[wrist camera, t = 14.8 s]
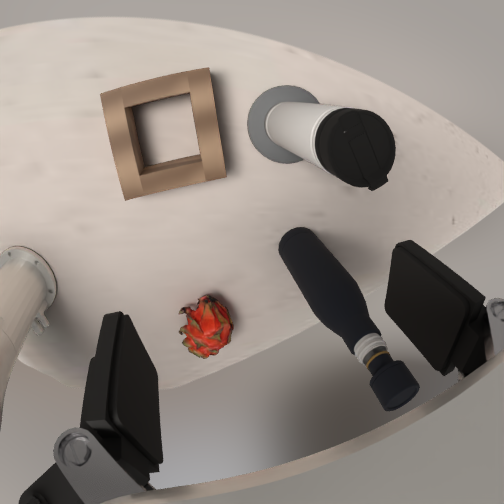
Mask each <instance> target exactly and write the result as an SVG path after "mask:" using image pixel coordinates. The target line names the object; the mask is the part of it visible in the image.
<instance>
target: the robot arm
mask: <svg viewBox="0 0 504 504" xmlns="http://www.w3.org/2000/svg"><path fill="white" fill-rule="evenodd" d="M55 296H56V281H55V278H54V275H53V273H52V271H51V269H50V268H49V266H48V264H47V263H46V262H45V261H44V260H43V259H42V258H41V257H40V256H39V255H38V254H37V253H35V252H33V251H32V250H30V249H27V248H25V247H20V246H17V247H11V248H8V249H6V250H5V251H4V252H3V253H2V254H1V255H0V429H1V422H2V412H3V402H4V396H5V391H6V388H7V384H8V381H9V378H10V375H11V372H12V369H13V367H14V364H15V362H16V359H17V357H18V355H19V352H20V350H21V348H22V345H23V343H24V341H25V339H26V336H27V334H28V332H29V330H30V328H32V329H33V331H34V332H35V334H36V335H40V334H42V333H43V331H44V329H43V327H44V328H46V327H48V326H49V324H50V323H49V322H48V320H47V318H46V317H45V315H44V310H46V309H47V308H49V307H50V306H51V304H52V303H53V301H54V299H55ZM484 300H485V296H483V295H482V294H481V293H480V292H479V291H478V290H476V289H475V288H474V287H473V286H471V285H470V284H469V283H468V282H467V281H465V280H464V279H463V278H462V277H460V276H459V275H458V274H456V273H455V272H454V271H453V270H451V269H450V268H449V267H447V266H446V265H444V264H443V263H442V262H441V261H440V260H438V259H437V258H436V257H434V256H433V255H432V254H430V253H429V252H427V251H426V250H425V249H423V248H422V247H421V246H419V245H418V244H416V243H415V242H414V241H412V240H407V241H404V242H400V243H398V244H396V246H395V248H394V249H393V252H392V259H391V267H390V274H389V281H388V288H387V294H386V299H385V311H386V313H387V314H388V315H389V317H390V318H391V319H392V320H393V321H394V322H395V323H396V325H398V327H399V328H400V329H401V330H402V331H403V332H404V334H405V335H406V336H407V337H408V338H409V339H410V341H411V342H412V343H413V344H414V345H415V346H416V348H417V349H418V350H419V351H420V352H421V353H422V355H423V356H424V357H425V358H426V359H427V361H428V362H429V363H430V364H431V365H432V367H433V368H434V369H435V370H437V371H440V372H441V374H442V375H443V376H445V375H447V374H448V373H450V372H451V371H453V370H454V368H455V366H456V367H457V368H458V383H456V384H454V385H453V386H451V387H450V388H448V389H447V390H445V391H444V392H442V393H441V394H439V395H437V396H436V397H434V398H432V399H431V400H429V401H427V402H426V403H424V404H422V405H420V406H419V407H417V408H415V409H413V410H412V411H410V412H408V413H406V414H404V415H403V416H401V417H399V418H397V419H395V420H393V421H391V422H389V423H387V424H385V425H383V426H381V427H379V428H376V429H374V430H372V431H370V432H368V433H366V434H363V435H361V436H359V437H357V438H354V439H352V440H350V441H347V442H345V443H342V444H340V445H337V446H335V447H332V448H329V449H327V450H324V451H322V452H319V453H316V454H313V455H311V456H307V457H304V458H301V459H298V460H295V461H292V462H289V463H286V464H283V465H279V466H275V467H272V468H268V469H264V470H260V471H256V472H253V473H249V474H244V475H239V476H235V477H230V478H226V479H221V480H216V481H210V482H205V483H199V484H192V485H186V486H178V487H172V488H167V489H166V488H165V489H158V490H156V489H155V488H154V487H153V486H152V485H151V484H150V483H149V480H150V475H149V473H154V472H159V464H161V463H163V452H162V441H161V428H160V413H159V393H158V375H157V371H156V369H155V367H154V365H153V363H152V361H151V359H150V357H149V355H148V353H147V351H146V349H145V347H144V345H143V343H142V341H141V339H140V337H139V335H138V333H137V331H136V329H135V327H134V325H133V323H132V321H131V318H130V317H129V315H124V314H123V313H122V312H121V311H119V312H114V313H110V314H105V315H104V317H103V321H102V326H101V330H100V335H99V340H98V344H97V349H96V354H95V357H93V358H92V359H91V361H90V365H89V370H88V376H87V381H86V387H85V393H84V400H83V407H82V414H81V423H80V428H72V429H69V430H67V431H65V432H63V433H62V434H61V435H60V436H59V437H58V439H57V441H56V443H55V445H54V450H53V452H54V459H55V461H56V463H55V464H53V466H51V467H50V468H49V469H48V470H47V471H46V472H45V473H44V474H43V475H42V476H41V477H40V478H38V479H37V481H35V482H34V483H33V484H32V485H31V486H30V487H29V488H28V489H27V490H26V491H24V493H23V494H22V495H21V497H20V500H19V504H504V299H501V298H494V299H491V300H490V301H489V302H488V303H487V305H486V307H485V306H484V305H483V303H484ZM36 318H39V319H40V322H41V323H42V325H43V327H42V326H41V324H40V323H39V321H38V320H37V319H36Z"/></svg>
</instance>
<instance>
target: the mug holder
mask: <svg viewBox="0 0 504 504" xmlns="http://www.w3.org/2000/svg"><path fill="white" fill-rule="evenodd" d="M189 93H190V98H191V104H192V110H193V116H194V122H195V128H196V133H197V139H198V145H199V150H200V154H199V155H194V156H190V157H185V158H181V159H176V160H172V161H167V162H163V163H159V164H155V165H151V166H147V167H144V162H143V158H142V154H141V149H140V145H139V140H138V135H137V131H136V126H135V121H134V116H133V111H132V107H134V106H137V105H141V104H145V103H149V102H153V101H157V100H161V99H165V98H170V97H174V96H179V95H184V94H189ZM100 96H101V101H102V107H103V112H104V117H105V122H106V127H107V131H108V136H109V140H110V145H111V149H112V153H113V157H114V161H115V165H116V169H117V173H118V177H119V181H120V184H121V188H122V192H123V195H124V199H125V201H126V200H129V199H133V198H137V197H141V196H145V195H149V194H153V193H157V192H161V191H165V190H170V189H174V188H178V187H183V186H187V185H192V184H196V183H201V182H206V181H210V180H215V179H220V178H225V177H227V176H226V170H225V164H224V158H223V152H222V146H221V140H220V133H219V127H218V121H217V115H216V108H215V102H214V96H213V89H212V83H211V76H210V70H209V67H208V68H202V69H196V70H191V71H186V72H181V73H176V74H171V75H167V76H162V77H158V78H154V79H150V80H146V81H142V82H138V83H134V84H131V85H127V86H124V87H120V88H117V89H114V90H111V91H108V92H104V93H101V94H100Z"/></svg>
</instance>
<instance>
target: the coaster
mask: <svg viewBox="0 0 504 504" xmlns="http://www.w3.org/2000/svg"><path fill="white" fill-rule="evenodd" d="M280 102H302V103H315V104H320V103H319V102H318V100H317V99H316V98H315V97H314V96H313V95H312V94H311V93H309V92H308V91H306V90H304V89H302V88H300V87H296V86H289V85H286V86H277V87H274V88H271V89H269V90H267V91H265V92H264V93H262V94H261V95H260V96H259V97H258V98H257V99H256V100H255V102H254V103H253V105H252V107H251V109H250V112H249V115H248V122H247V126H248V133H249V137H250V139H251V141H252V143H253V145H254V146H255V148H256V149H257V150H258V151H259V152H260V153H261V154H262V155H263V156H265V157H267V158H268V159H270V160H272V161H275V162H279V163H295V162H299V161H302V160H304V159H303V158H301V157H299V156H297V155H296V154H294V153H292V152H290V151H288V150H286V149H284V148H283V147H281V146H279V145H277V144H275V143H274V142H272V141H271V140H270V139H269V138H268V136H267V135H266V132H265V129H264V119H265V116H266V113H267V112H268V110H269V109H270V108H271V107H272V106H274V105H275V104H277V103H280Z"/></svg>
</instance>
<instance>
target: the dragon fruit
mask: <svg viewBox="0 0 504 504" xmlns="http://www.w3.org/2000/svg"><path fill="white" fill-rule="evenodd" d="M209 299H210V300H211V302H210V300H209ZM198 300H199V301H198V303H197V305H198V304H199V307H198V308H197V310H196V311H194V310H192V309H191V308H190V307H183V308H181V310H180V311H179V314H183V313H186V314H187V315H186V317H187V320H188V325H185V326H183V327H181V328H180V331H179V333H180V334H181V335H182V332H183V333H184V334H186V336H187V337H186V338H185V339H184V340H183V342H182V343H183V345H184V346H186V347H189V348H188V350H189V352H191V353H193V354H194V355H196V356H198V357H199V358H200V357H201V358H203V359H205V358H208V357H209V355H216V354H218V352H219V349H221V348H223V347H224V346H225V345H227V344H229V343H230V341H231V334H232V330H233V328H234V325H233V322H232V320H231V318H230V315H229V312H228V309H227V308H226V307H225V308H224V306H223V305H222V304H220V303H219V302H218V300H216V299H214V298H211V297H210V296H208V295H206V296H203V297H201V298H199V299H198Z"/></svg>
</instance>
